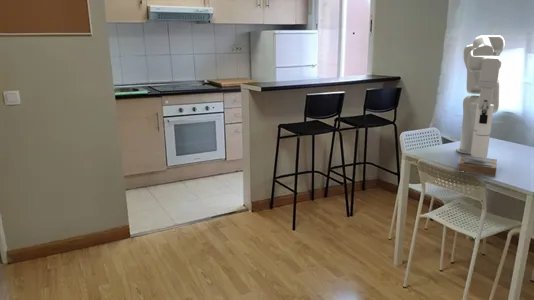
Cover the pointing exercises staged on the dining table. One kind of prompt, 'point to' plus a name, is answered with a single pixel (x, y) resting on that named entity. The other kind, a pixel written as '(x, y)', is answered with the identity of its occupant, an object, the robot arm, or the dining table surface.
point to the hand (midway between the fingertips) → (483, 121)
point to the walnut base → (478, 165)
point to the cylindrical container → (481, 134)
